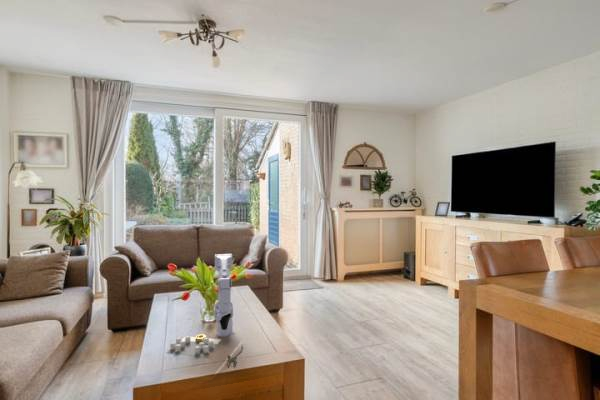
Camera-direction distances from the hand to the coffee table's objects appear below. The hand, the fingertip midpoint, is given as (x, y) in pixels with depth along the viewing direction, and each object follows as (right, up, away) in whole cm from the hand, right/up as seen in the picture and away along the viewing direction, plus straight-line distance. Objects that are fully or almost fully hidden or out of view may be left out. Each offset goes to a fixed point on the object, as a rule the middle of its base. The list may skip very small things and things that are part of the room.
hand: (224, 329), depth 160 cm
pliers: (+7, -10, -7) cm, 14 cm away
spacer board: (-14, -9, 0) cm, 17 cm away
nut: (-13, -8, +6) cm, 16 cm away
